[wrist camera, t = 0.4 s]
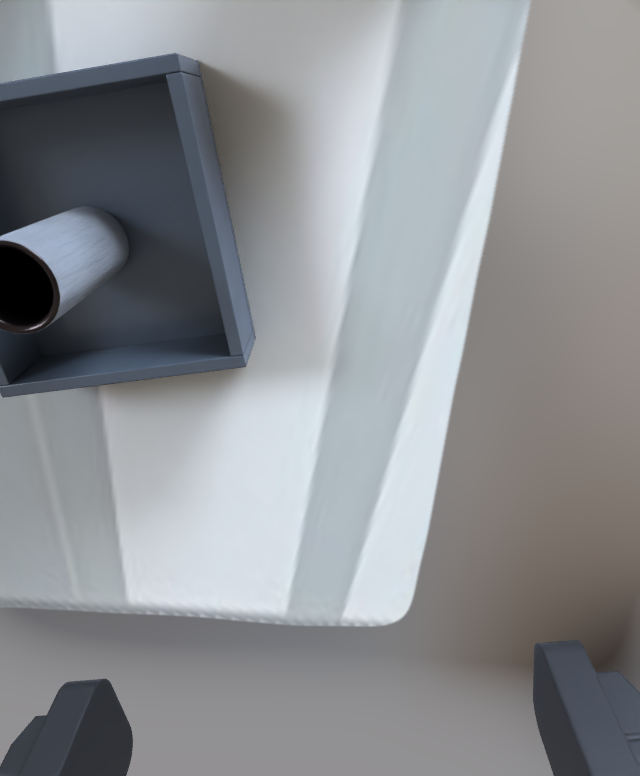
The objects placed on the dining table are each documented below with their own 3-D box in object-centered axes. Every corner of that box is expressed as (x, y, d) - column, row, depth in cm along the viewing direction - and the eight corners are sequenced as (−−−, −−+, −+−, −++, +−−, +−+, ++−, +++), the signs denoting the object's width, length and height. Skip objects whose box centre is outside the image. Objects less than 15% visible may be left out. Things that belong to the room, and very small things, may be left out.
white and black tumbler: (109, 292, 37) (35, 352, 28) (45, 250, 36) (-54, 298, 27) (143, 235, 36) (76, 279, 26) (76, 189, 34) (-18, 219, 25)
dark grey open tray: (-66, 105, 33) (-126, 104, 29) (198, 60, 32) (176, 52, 27) (37, 367, 40) (1, 398, 36) (255, 338, 39) (246, 367, 34)
